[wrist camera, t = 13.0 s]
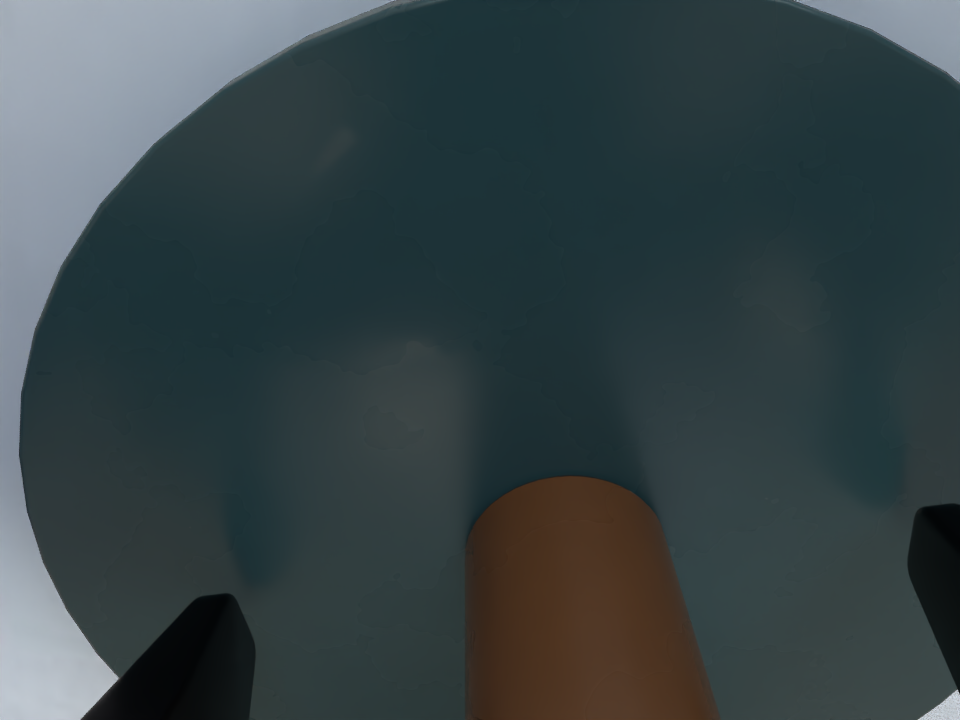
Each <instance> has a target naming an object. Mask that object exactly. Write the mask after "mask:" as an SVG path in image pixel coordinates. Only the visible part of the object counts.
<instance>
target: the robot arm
mask: <svg viewBox="0 0 960 720" xmlns="http://www.w3.org/2000/svg"><path fill="white" fill-rule="evenodd" d="M907 568H908V573H909V577H910V580H911V583H912V585H913V587H914V590H915V592H916V594H917V597H918V599H919V601H920V604H921V606H922V608H923V610H924V613H925V615H926V617H927V620H928V622H929V624H930V627H931V629H932V631H933V634H934V636H935V638H936V641H937V643H938V645H939V648H940V650H941V652H942V655H943V657H944V659H945V662H946V664H947V666H948V669H949V671H950V673H951V675H952V678H953V680H954V682H955V685H956V687H957V689H958V691H959V694H960V504H956V503H948V504H940V505H931V506H924V507H921V508H919V509H918V510H917V512H916V513H915V516H914V520H913V526H912V532H911V538H910V545H909V551H908V557H907ZM255 661H256V648H255V642H254V638H253V636H252V633H251V631H250V629H249V626H248V624H247V622H246V620H245V617H244V615H243V613H242V610H241V608H240V606H239V603H238V601H237V600H236V598H235V597H234V596H233V595H232V594H230V593H221V594H213V595H205V596H200V597H198V598H196V599H195V600H193V601H192V602H191V603H190V604H189V605H188V606H187V607H186V608H185V609H184V611H183V612H182V613H181V614H180V615H179V616H178V617H177V618H176V619H175V620H174V621H173V622H172V623H171V624H170V625H169V626H168V627H167V629H166V630H165V631H164V632H163V633H162V634H161V635H160V636H159V637H158V638H157V639H156V640H155V641H154V642H153V643H152V644H151V645H150V647H149V648H148V649H147V650H146V651H145V652H144V653H143V654H142V655H141V656H140V657H139V658H138V659H137V660H136V661H135V662H134V664H133V665H132V666H131V667H130V668H129V669H128V670H127V671H126V672H125V673H124V674H123V675H122V676H121V677H120V678H119V679H118V680H117V682H116V683H115V684H114V685H113V686H112V687H111V688H110V689H109V690H108V691H107V692H106V693H105V694H104V695H103V696H102V697H101V699H100V700H99V701H98V702H97V703H96V704H95V705H94V706H93V707H92V708H91V709H90V710H89V711H88V712H87V713H86V714H85V715H84V717H83V718H82V719H81V720H249V716H250V707H251V698H252V689H253V680H254V670H255Z"/></svg>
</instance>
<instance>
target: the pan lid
mask: <svg viewBox="0 0 960 720" xmlns="http://www.w3.org/2000/svg"><path fill="white" fill-rule="evenodd" d="M19 458H20V465H21V472H22V479H23V486H24V493H25V500H26V508H27V513H28V516H29V519H30V522H31V525H32V528H33V532H34V535H35V538H36V541H37V544H38V547H39V551H40V554H41V557H42V560H43V563H44V565H45V567H46V569H47V571H48V573H49V575H50V577H51V579H52V581H53V583H54V585H55V587H56V589H57V591H58V593H59V595H60V597H61V599H62V601H63V603H64V605H65V607H66V609H67V611H68V613H69V614H70V615H71V617H72V618H73V620H74V621H75V623H76V624H77V626H78V627H79V628H80V630H81V631H82V633H83V634H84V636H85V637H86V639H87V640H88V641H89V643H90V644H91V646H92V647H93V649H94V650H95V652H96V653H97V654H98V655H99V656H100V657H101V659H102V660H103V661H104V662H105V663H106V664H107V665H108V666H109V667H110V668H111V670H112V671H113V672H114V673H115V674H116V675H117V676H118V677H119V678H120V677H121V676H122V675H123V674H124V673H125V672H126V671H127V670H128V669H129V668H130V667H131V666H132V665H133V664H134V662H135V661H136V660H137V659H138V658H139V657H140V656H141V655H142V654H143V653H144V652H145V651H146V650H147V649H148V648H149V647H150V645H151V644H152V643H153V642H154V641H155V640H156V639H157V638H158V637H159V636H160V635H161V634H162V633H163V632H164V631H165V630H166V629H167V627H168V626H169V625H170V624H171V623H172V622H173V621H174V620H175V619H176V618H177V617H178V616H179V615H180V614H181V613H182V612H183V611H184V609H185V608H186V607H187V606H188V605H189V604H190V603H191V602H192V601H193V600H195V599H196V598H198V597H200V596H205V595H213V594H221V593H230V594H232V595H233V596H234V597H235V598H236V600H237V601H238V603H239V606H240V608H241V610H242V613H243V615H244V617H245V620H246V622H247V624H248V626H249V629H250V631H251V633H252V636H253V638H254V642H255V648H256V661H255V670H254V680H253V689H252V698H251V707H250V716H249V720H918V719H919V718H921V717H922V716H923V715H925V714H926V713H928V712H929V711H931V710H932V709H933V708H935V707H936V706H938V705H939V704H941V703H942V702H943V701H944V700H945V699H947V698H948V697H949V696H950V695H951V694H952V693H954V692H955V691H956V690H957V687H956V685H955V682H954V680H953V678H952V675H951V673H950V671H949V669H948V666H947V664H946V662H945V659H944V657H943V655H942V652H941V650H940V648H939V645H938V643H937V641H936V638H935V636H934V634H933V631H932V629H931V627H930V624H929V622H928V620H927V617H926V615H925V613H924V610H923V608H922V606H921V604H920V601H919V599H918V597H917V594H916V592H915V590H914V587H913V585H912V583H911V580H910V577H909V573H908V568H907V557H908V551H909V545H910V538H911V532H912V526H913V520H914V516H915V513H916V512H917V510H918V509H919V508H921V507H924V506H931V505H940V504H948V503H956V504H960V83H959V82H958V81H956V80H955V79H954V78H953V77H952V76H950V75H949V74H948V73H947V72H945V71H944V70H942V69H940V68H938V67H937V66H935V65H933V64H931V63H929V62H928V61H926V60H924V59H922V58H921V57H919V56H917V55H915V54H914V53H912V52H910V51H908V50H907V49H905V48H903V47H901V46H900V45H898V44H896V43H894V42H893V41H891V40H889V39H887V38H886V37H884V36H882V35H880V34H879V33H877V32H875V31H873V30H872V29H869V28H866V27H864V26H861V25H858V24H855V23H853V22H850V21H847V20H845V19H842V18H839V17H837V16H834V15H831V14H828V13H826V12H823V11H820V10H818V9H815V8H812V7H809V6H807V5H804V4H801V3H799V2H796V1H793V0H395V1H393V2H390V3H388V4H385V5H383V6H380V7H378V8H375V9H373V10H370V11H368V12H365V13H363V14H360V15H358V16H355V17H353V18H350V19H348V20H345V21H343V22H340V23H338V24H335V25H333V26H330V27H328V28H325V29H323V30H321V31H318V32H316V33H313V34H311V35H308V36H306V37H305V38H303V39H301V40H300V41H298V42H296V43H295V44H293V45H291V46H289V47H288V48H286V49H284V50H283V51H281V52H279V53H277V54H276V55H274V56H272V57H271V58H269V59H267V60H265V61H264V62H262V63H260V64H259V65H257V66H255V67H254V68H252V69H250V70H248V71H247V72H245V73H243V74H242V75H240V76H238V77H236V78H235V79H233V80H232V81H230V82H229V83H228V84H227V85H225V86H224V87H223V88H222V89H220V90H219V91H218V92H217V93H215V94H214V95H213V96H212V97H211V98H209V99H208V100H207V101H206V102H204V103H203V104H202V105H201V106H199V107H198V108H197V109H196V110H195V111H193V112H192V113H191V114H190V115H188V116H187V117H186V118H185V119H183V120H182V121H181V122H180V123H178V124H177V125H176V126H175V127H174V128H172V129H171V130H170V131H169V132H167V133H166V134H165V135H164V136H163V137H162V138H160V139H159V140H158V141H157V142H156V143H154V144H153V146H152V147H151V148H150V149H149V150H148V151H147V152H146V153H145V155H144V156H143V157H142V158H141V159H140V160H139V161H138V162H137V163H136V165H135V166H134V167H133V168H132V169H131V170H130V171H129V172H128V174H127V175H126V176H125V177H124V178H123V179H122V180H121V181H120V182H119V184H118V185H117V186H116V187H115V188H114V189H113V190H112V191H111V193H110V194H109V195H108V196H107V197H106V198H105V199H104V200H103V201H102V203H101V204H100V205H99V207H98V208H97V210H96V212H95V213H94V215H93V216H92V218H91V220H90V221H89V223H88V224H87V226H86V227H85V229H84V231H83V232H82V234H81V235H80V237H79V239H78V240H77V242H76V243H75V245H74V246H73V248H72V250H71V251H70V253H69V254H68V256H67V258H66V259H65V261H64V262H63V264H62V265H61V267H60V270H59V272H58V275H57V277H56V279H55V282H54V284H53V287H52V289H51V292H50V294H49V297H48V299H47V301H46V304H45V306H44V309H43V311H42V314H41V316H40V318H39V321H38V323H37V326H36V328H35V331H34V336H33V340H32V345H31V350H30V354H29V359H28V364H27V368H26V373H25V377H24V382H23V387H22V391H21V414H20V443H19Z"/></svg>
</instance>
